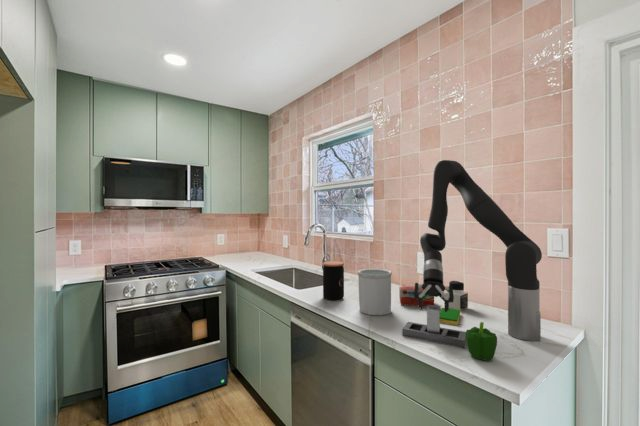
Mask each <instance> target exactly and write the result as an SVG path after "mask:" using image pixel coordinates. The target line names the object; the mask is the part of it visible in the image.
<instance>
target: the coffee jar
mask: <svg viewBox="0 0 640 426" xmlns="http://www.w3.org/2000/svg"><path fill="white" fill-rule="evenodd" d="M344 264H345V263H344V262H343V261H338V260H337V261H336V260H331V261H324V262H323V263H322V266H323V267H322V289H323V290H322V297H323V298H324V299H325V300H326V301H330V302H331V301H332V302H334V301H335V302H337V301H340V300H343V299H344V297H345V272H344V271H345V268H344Z"/></svg>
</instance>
